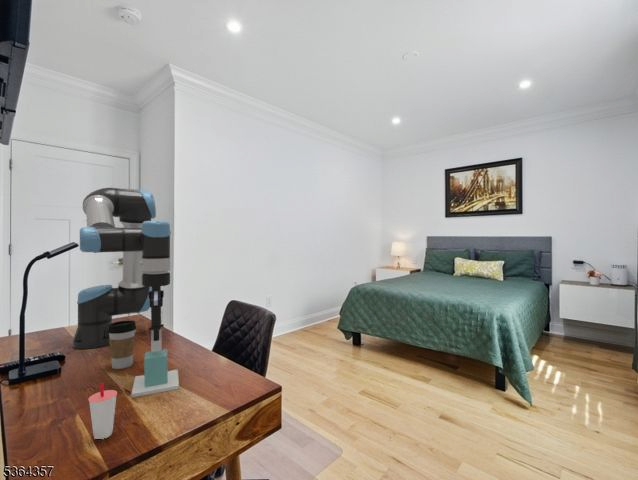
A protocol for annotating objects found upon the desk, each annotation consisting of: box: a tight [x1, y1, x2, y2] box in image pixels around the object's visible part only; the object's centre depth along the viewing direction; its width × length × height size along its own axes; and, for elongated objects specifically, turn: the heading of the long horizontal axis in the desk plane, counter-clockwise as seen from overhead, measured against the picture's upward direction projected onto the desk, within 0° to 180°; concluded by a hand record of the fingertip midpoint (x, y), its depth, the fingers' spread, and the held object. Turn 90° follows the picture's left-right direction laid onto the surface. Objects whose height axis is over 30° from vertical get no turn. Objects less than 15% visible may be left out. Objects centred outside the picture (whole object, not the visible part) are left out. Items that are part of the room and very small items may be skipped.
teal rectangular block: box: [143, 348, 169, 387], centre depth 94 cm, size 6×6×8 cm
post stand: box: [131, 368, 180, 399], centre depth 94 cm, size 12×12×8 cm
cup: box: [87, 382, 118, 440], centre depth 70 cm, size 5×5×12 cm
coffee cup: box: [108, 320, 137, 370], centre depth 108 cm, size 8×8×15 cm
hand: (156, 350), depth 94 cm, fingers closed
